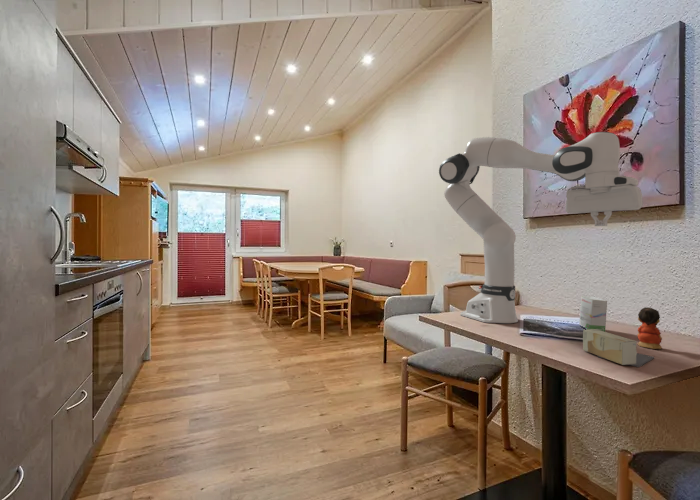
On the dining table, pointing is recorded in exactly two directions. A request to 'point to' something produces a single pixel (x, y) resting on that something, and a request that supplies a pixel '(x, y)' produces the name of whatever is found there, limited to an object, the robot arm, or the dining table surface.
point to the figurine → (649, 329)
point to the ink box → (593, 313)
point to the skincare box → (610, 346)
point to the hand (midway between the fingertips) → (600, 225)
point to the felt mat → (639, 359)
